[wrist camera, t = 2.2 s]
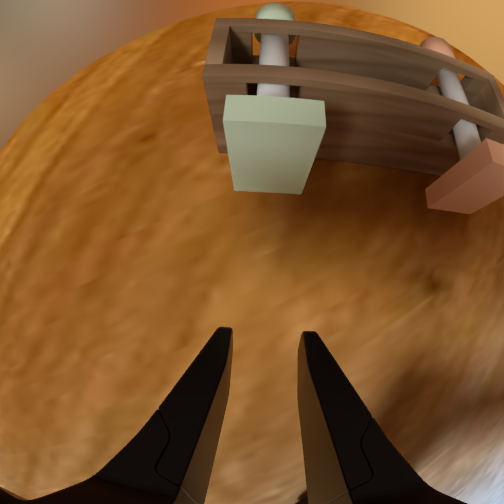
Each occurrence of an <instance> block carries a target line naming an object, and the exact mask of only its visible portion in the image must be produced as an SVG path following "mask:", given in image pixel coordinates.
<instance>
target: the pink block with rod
mask: <svg viewBox="0 0 504 504" xmlns="http://www.w3.org/2000/svg"><path fill="white" fill-rule="evenodd" d="M420 46H421V47H425V48H428V49H431V50H433V51H436V52H439V53H442V54H445V55H447V56H450V57H453V58H455V56H454V54H453V52H452V50H451V48H450V46H449V44H448V43H447V42H446V41H445V40H444V39H442V38H439V37H430V38H427V39H425V40H424V41H422V43H421V44H420ZM455 59H456V58H455ZM435 78H436V80H437V82H438V85H439V88H440V91H441V94H442V96H444V97H447V98H450V99H453V100H456V101H459V102H461V103H464V104H467V105H469V103H468V100H467V98H466V95H465V92H464V90H463V87H462V85H461V82H460V80H459V78H458V75H457V72H455V71H452V70H450V69H447V68H444V67H442V68H441V69H440V71H439V72H438V74H437V75H436V77H435ZM452 129H453V133H454V137H455V141H456V145H457V149H458V153H459V157H460V161H459V162H458V163H457V164H455V165H454V166H453V167H452V168H451V169H449V170H448V171H447V172H446V173H444V174H443V175H442V176H441V177H440V178H438V179H437V180H436V181H435V182H433V183H432V184H431V185H430V186H428V187H427V188H426V189H425V192H426V200H427V208H432V209H438V210H445V211H452V212H458V213H465V214H472V213H474V212H475V211H477V210H479V209H481V208H483V207H485V206H487V205H488V204H490V203H492V202H494V201H496V200H497V199H499V198H501V197H503V196H504V144H501V143H498V142H496V141H493V140H490V139H487V138H486V139H485V140H484V141H482V142H481V140H480V137H479V133H478V130H477V127H476V124H475V123H472V122H469V121H466V120H463V119H461V120H460V121H459V122H458V123H457V124H456V125H455V126H454V127H453V128H452Z"/></svg>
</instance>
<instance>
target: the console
mask: <svg viewBox="0 0 504 504" xmlns="http://www.w3.org/2000/svg"><path fill="white" fill-rule="evenodd" d="M252 33H275V34H289V35H298V42H297V49H296V56H295V58H289V66H277V65H259V58H260V56H254V55H253V50H252ZM442 67H444V68H447V69H450V70H452V71H455V72H458V73H460V74H463V75H465V77H464V78H463V79H462V80H461V85H462V87H463V90H464V92H465V95H466V98H467V100H468V103H469V105H467V104H464V103H461V102H459V101H456V100H453V99H450V98H447V97H444V96H442V94H441V91H440V88H439V87H438V86H435V85H431V82H432V81H433V79H434V78H435V77H436V75H437V74H438V72H439V71H440V69H441V68H442ZM202 77H203V82H204V87H205V91H206V96H207V101H208V105H209V110H210V115H211V119H212V124H213V129H214V133H215V138H216V142H217V147H218V151H219V153H228V150H227V144H226V138H225V131H224V125H223V115H224V108H225V100H226V95H255V96H257V86H258V83H266V84H282V85H290V98H300V99H310V100H319V101H324V104H325V117H326V129H325V132H324V135H323V137H322V140H321V143H320V146H319V148H318V151H317V154H316V156H315V158H316V159H326V160H336V161H344V162H353V163H361V164H368V165H375V166H382V167H389V168H395V169H402V170H408V171H413V172H419V173H425V174H430V175H435V176H440V177H441V176H442V175H443V174H444V173H446V172H447V171H448V170H449V169H451V168H452V167H453V166H454V165H455V164H457V163H458V162H459V161H460V157H459V153H458V149H457V145H456V141H455V137H454V133H453V129H452V128H453V127H454V126H455V125H456V124H457V123H458V122H459V121H460V120H461V119H463V120H466V121H469V122H472V123H475V124H476V127H477V130H478V133H479V137H480V140H481V142H482V141H484V140H485V139H486V138H487V139H490V140H493V141H496V142H498V143H501V144H504V98H503V96H502V93H501V91H500V89H499V87H498V84H497V82H496V80H495V78H494V76H493V75H492V74H490V73H488V72H485V71H483V70H481V69H479V68H477V67H474V66H472V65H470V64H467V63H465V62H463V61H460V60H458V59H455V58H453V57H450V56H447V55H445V54H442V53H439V52H436V51H433V50H431V49H428V48H425V47H421V46H418V45H415V44H412V43H408V42H405V41H402V40H398V39H394V38H390V37H387V36H383V35H378V34H374V33H370V32H365V31H360V30H355V29H350V28H345V27H339V26H333V25H326V24H319V23H311V22H302V21H292V20H279V19H259V18H217V19H216V21H215V25H214V29H213V33H212V37H211V41H210V45H209V49H208V53H207V57H206V61H205V66H204V70H203V75H202Z"/></svg>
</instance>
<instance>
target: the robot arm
mask: <svg viewBox="0 0 504 504" xmlns="http://www.w3.org/2000/svg"><path fill="white" fill-rule="evenodd" d="M232 353H233V330H232V328H230V327H219V328H218V329H217V330H216V331H215V332H214V334H213V335H212V337H211V338H210V339H209V341H208V342H207V343H206V345H205V346H204V347H203V349H202V350H201V351H200V353H199V354H198V355H197V357H196V358H195V360H194V361H193V362H192V364H191V365H190V366H189V368H188V369H187V370H186V372H185V373H184V374H183V376H182V377H181V378H180V380H179V381H178V382H177V384H176V385H175V386H174V388H173V389H172V390H171V392H170V393H169V394H168V396H167V397H166V398H165V400H164V401H163V402H162V404H161V405H160V406H159V408H158V409H159V410H156V411H155V413H154V414H153V415H152V417H151V418H150V419H149V420H148V422H147V423H146V424H145V425H144V427H143V428H142V429H141V430H140V431H139V432H138V433H137V435H136V436H135V437H134V438H133V439H132V440H131V441H130V442H129V443H128V444H127V445H126V446H125V447H124V448H123V449H122V450H121V451H120V452H119V453H118V454H117V455H116V456H115V457H114V458H113V459H111V460H110V461H109V462H108V463H107V464H106V465H105V466H104V467H103V468H102V469H101V470H100V471H99V472H97V473H96V474H95V475H93V476H92V477H90V478H89V479H87V480H85V481H83V482H80V483H78V484H75V485H73V486H70V487H68V488H65V489H63V490H60V491H57V492H54V493H52V494H49V495H46V496H43V497H40V498H37V499H33V500H26V499H24V498H22V497H20V496H18V495H16V494H14V493H12V492H10V491H8V490H6V489H4V488H2V487H0V504H204V502H205V498H206V493H207V489H208V485H209V480H210V476H211V472H212V467H213V463H214V459H215V454H216V450H217V445H218V441H219V437H220V432H221V428H222V423H223V419H224V414H225V410H226V406H227V401H228V396H229V388H230V376H231V364H232ZM297 393H298V408H299V417H300V426H301V435H302V444H303V454H304V464H305V474H306V485H307V495H308V497H307V498H306V499H304V500H303V501H301V502H300V503H298V504H467V503H464V502H462V501H460V500H457V499H455V498H452V497H450V496H448V495H445V494H443V493H441V492H439V491H437V490H435V489H433V488H432V487H430V486H429V485H428V484H427V483H426V482H424V481H423V479H422V478H421V477H420V476H419V475H418V474H417V473H416V472H415V470H414V469H413V468H412V467H411V466H410V465H409V464H408V462H407V461H406V460H405V459H404V458H403V457H402V455H401V454H400V453H399V452H398V451H397V450H396V448H395V447H394V446H393V445H392V443H391V442H390V441H389V440H388V438H387V437H386V435H385V434H384V433H383V431H382V430H381V428H380V427H379V425H378V424H377V422H376V421H375V419H374V418H372V415H371V413H370V412H369V410H368V409H367V407H366V406H365V404H364V403H363V401H362V400H361V398H360V397H359V395H358V394H357V392H356V391H355V389H354V388H353V386H352V385H351V383H350V382H349V380H348V379H347V377H346V376H345V374H344V373H343V371H342V370H341V368H340V367H339V365H338V364H337V362H336V361H335V359H334V358H333V356H332V355H331V353H330V352H329V350H328V349H327V347H326V346H325V344H324V343H323V341H322V340H321V338H320V337H319V335H318V334H317V333H316V332H314V331H304V332H302V335H301V339H300V343H299V348H298V388H297Z"/></svg>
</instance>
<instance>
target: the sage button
mask: <svg viewBox="0 0 504 504" xmlns="http://www.w3.org/2000/svg"><path fill="white" fill-rule="evenodd" d="M256 18H259V19H279V20H292V21H295V16H294V13H293V11H292V10H291V9H290V8H289V7H287V6H286V5H283V4H279V3H270V4H266V5H264V6H262V7H261V8H260V9H259V10H258V12H257V14H256ZM255 37H256V39H257V40H258V41H259V42H260V43H261V45H260V58H259V65H277V66H289V44H290V43H292V42H293V40H294V39H295V35H289V34H275V33H255ZM223 125H224V131H225V138H226V144H227V150H228V156H229V162H230V168H231V174H232V180H233V186H234V191H252V192H270V193H285V194H300V195H301V194H302V191H303V189H304V186H305V183H306V181H307V178H308V175H309V173H310V170H311V167H312V165H313V162H314V159H315V156H316V154H317V151H318V148H319V146H320V143H321V140H322V137H323V135H324V132H325V129H326V117H325V104H324V101H319V100H310V99H300V98H290V85H282V84H266V83H258V86H257V96H255V95H226V100H225V108H224V115H223Z"/></svg>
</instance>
